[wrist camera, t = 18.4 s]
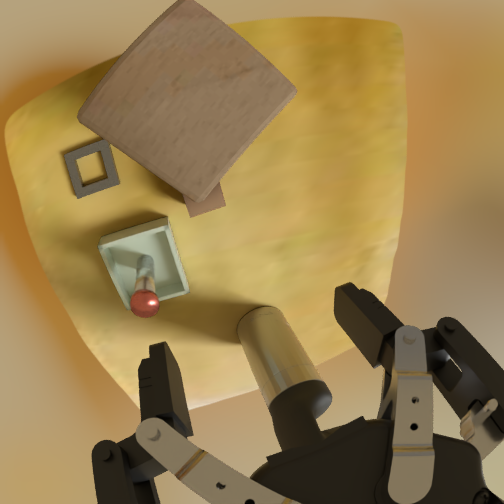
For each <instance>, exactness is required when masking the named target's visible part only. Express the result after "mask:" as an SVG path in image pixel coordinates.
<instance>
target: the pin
mask: <svg viewBox="0 0 504 504" xmlns="http://www.w3.org/2000/svg"><path fill="white" fill-rule="evenodd" d="M130 308H131V310H132V312H133V313H134V314H135V315H137V316H139V317H144V318H147V317H151V316H153V315H155V314H156V313H157V312H158V310H159V298H158V296H157V295H156V293H155V262H154V259H153V258H152V257H151V256H149V255H142V256H140V257H139V258H138V260H137V266H136V278H135V291H134V293H133V294H132V296H131V301H130Z"/></svg>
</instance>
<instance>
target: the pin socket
mask: <svg viewBox="0 0 504 504" xmlns="http://www.w3.org/2000/svg"><path fill="white" fill-rule="evenodd" d="M100 150H101V154H102V157H103V161H104V165H105V168H106V172H107V175H108V178H105V179H102V180H99V181H96V182H94V183H91V184H88V185H85V186H84V185H83V182H82V178H81V175H80V172H79V168H78V165H77V161H76V159H79V158H81V157H84V156H87V155H89V154H92V153H95V152H97V151H100ZM64 157H65V161H66V164H67V168H68V171H69V174H70V178H71V181H72V184H73V187H74V190H75V193H76V196H77V199H79V198H81V197H84V196H87V195H90V194H92V193H95V192H98V191H101V190H104V189H107V188H110V187H113V186H116V185H119V184H120V180H119V177H118V173H117V169H116V166H115V162H114V158H113V155H112V151H111V147H110V143H109V142H107V141H106V140H105V139H103V140H100V141H98V142H95V143H92V144H90V145H87V146H84V147H82V148H79V149H77V150H74V151H72V152H69V153H67V154H65V155H64Z"/></svg>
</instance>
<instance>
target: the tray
mask: <svg viewBox="0 0 504 504" xmlns="http://www.w3.org/2000/svg"><path fill="white" fill-rule="evenodd" d="M97 247H98V249H99V251H100V254H101V256H102V258H103V261H104V263H105V265H106V268H107V270H108V272H109V274H110V276H111V278H112V281H113V283H114V285H115V287H116V289H117V291H118V293H119V295H120V297H121V299H122V301H123V303H124V305H125V307H126V309H127V310H130V309H131V308H130V301H131V296H132V294H133V293H134V291H135V278H136V266H137V260H138V258H139V257H140V256H142V255H149V256H151V257H152V258H153V259H154V262H155V293H156V295H157V296H158V298H159V301H163V300H166V299H170V298H173V297H177V296H180V295H184V294H187V293H190V290H189V285H188V281H187V278H186V274H185V271H184V268H183V265H182V262H181V259H180V256H179V253H178V249H177V246H176V243H175V240H174V236H173V233H172V229H171V226H170V223H169V219H168V216H167V217H164V218H160V219H157V220H153V221H150V222H147V223H143V224H140V225H137V226H134V227H130V228H127V229H124V230H121V231H118V232H115V233H111V234H108V235H105V236H102V237H101V239H100V241H99V244H98V246H97Z"/></svg>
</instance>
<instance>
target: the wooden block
mask: <svg viewBox="0 0 504 504" xmlns="http://www.w3.org/2000/svg"><path fill="white" fill-rule="evenodd" d="M296 93H297V89H296V87H295V86H294V85H293V84H292V83H291V82H290V81H289V80H288V79H287V78H286V77H285V76H284V75H283V74H282V73H281V72H280V71H279V70H278V69H277V68H276V67H275V66H274V65H273V64H272V63H270V62H269V61H268V60H267V59H266V58H265V57H264V56H263V55H262V54H261V53H260V52H258V51H257V50H256V49H255V48H254V47H253V46H252V45H251V44H249V43H248V42H247V41H246V40H245V39H244V38H242V37H241V36H240V35H239V34H238V33H236V32H235V31H234V30H233V29H231V28H230V27H229V26H228V25H226V24H225V23H224V22H223V21H221V20H220V19H219V18H217V17H216V16H215V15H213V14H212V13H211V12H209V11H208V10H207V9H205V8H204V7H203V6H201V5H200V4H198V3H197V2H196V1H194V0H178V1H176V2H175V3H174V4H173V5H172V6H170V7H169V8H168V9H167V10H166V11H165V12H164V13H163V14H162V15H160V16H159V17H158V18H157V19H156V20H155V21H154V22H153V23H152V24H151V25H150V26H149V27H148V28H147V29H146V30H145V31H144V32H143V33H142V34H141V35H140V36H139V37H138V38H137V39H136V40H135V41H134V42H133V43H132V45H130V47H129V48H128V49H127V50H126V51H125V52H124V53H123V54H122V55H121V57H120V58H119V59H118V60H117V61H116V62H115V64H114V65H113V66H112V67H111V68H110V70H109V71H108V72H107V73H106V75H105V76H104V77H103V78H102V80H101V81H100V82H99V84H98V85H97V86H96V87H95V89H94V90H93V92H92V93H91V94H90V96H89V97H88V98H87V100H86V101H85V103H84V104H83V106H82V107H81V108H80V110H79V112H78V115H77V118H78V120H79V122H80V123H81V124H83V125H84V126H86V127H87V128H89V129H90V130H91V131H93V132H94V133H96V134H97V135H99V136H100V137H102V138H103V139H105V140H106V141H107V142H109V143H110V144H112V145H113V146H115V147H116V148H117V149H119V150H120V151H122V152H123V153H125V154H126V155H128V156H129V157H130V158H132V159H133V160H135V161H136V162H138V163H139V164H140V165H142V166H143V167H145V168H146V169H148V170H149V171H151V172H152V173H153V174H155V175H156V176H158V177H159V178H161V179H162V180H163V181H165V182H166V183H168V184H169V185H171V186H172V187H173V188H175V189H176V190H178V191H179V192H181V193H182V194H183V195H185V196H186V197H188V198H189V199H190V200H192V201H193V202H198V203H200V202H201V201H203V200H204V199H205V198H206V197H207V196H208V194H209V193H210V192H211V191H212V189H213V188H214V187H215V186H216V185H217V183H218V182H219V181H220V180H221V178H222V177H223V176H224V175H225V174H226V173H227V171H228V170H229V169H230V168H231V167H232V165H233V164H234V163H235V162H236V161H237V160H238V158H239V157H240V156H241V155H242V154H243V153H244V151H245V150H246V149H247V148H248V147H249V146H250V145H251V143H252V142H253V141H254V140H255V139H256V138H257V137H258V136H259V134H260V133H261V132H262V131H263V130H264V129H265V128H266V127H267V126H268V124H269V123H270V122H271V121H272V120H273V119H274V118H275V117H276V116H277V115H278V114H279V113H280V111H281V110H282V109H283V108H284V107H285V106H286V105H287V104H288V103H289V102H290V101H291V100H292V99H293V98H294V97H295V95H296Z"/></svg>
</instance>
